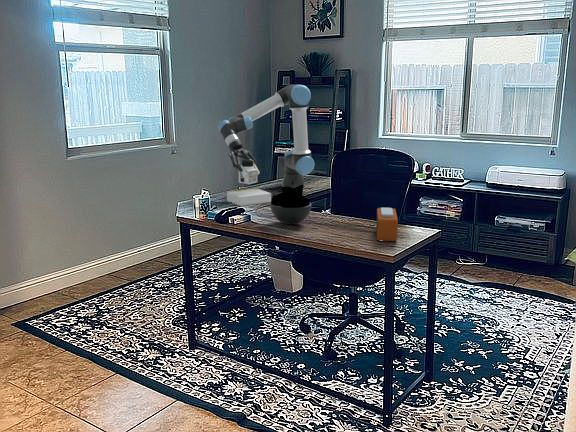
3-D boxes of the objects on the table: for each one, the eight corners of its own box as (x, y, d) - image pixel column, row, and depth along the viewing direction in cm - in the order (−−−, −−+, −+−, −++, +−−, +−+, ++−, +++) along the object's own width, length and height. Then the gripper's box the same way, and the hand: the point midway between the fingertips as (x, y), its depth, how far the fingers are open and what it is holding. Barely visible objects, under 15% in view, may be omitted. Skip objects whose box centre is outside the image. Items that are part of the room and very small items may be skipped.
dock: (257, 196, 334) (257, 188, 333) (271, 201, 321) (271, 192, 320) (227, 200, 324) (226, 191, 323) (240, 206, 311) (239, 196, 309)
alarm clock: (376, 228, 267) (377, 204, 264) (394, 228, 266) (395, 205, 263) (377, 242, 244) (378, 216, 241) (396, 243, 243) (398, 217, 240)
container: (248, 184, 315) (248, 161, 311) (238, 182, 319) (238, 159, 316) (257, 182, 321) (257, 159, 317) (247, 180, 325) (247, 158, 322)
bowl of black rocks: (274, 230, 262) (273, 190, 258) (267, 219, 281) (267, 182, 277) (315, 228, 266) (316, 188, 262) (306, 217, 285) (306, 181, 281)
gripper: (245, 146, 333) (263, 176, 326) (216, 149, 319) (233, 181, 312) (251, 138, 328) (269, 168, 321) (221, 140, 314) (239, 172, 307)
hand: (251, 174), depth 316 cm, fingers closed on container, 9 cm apart
